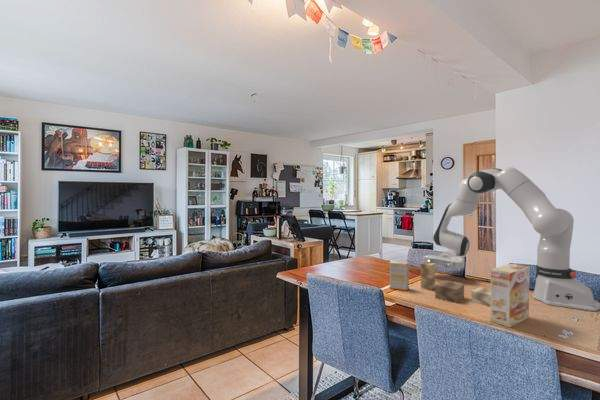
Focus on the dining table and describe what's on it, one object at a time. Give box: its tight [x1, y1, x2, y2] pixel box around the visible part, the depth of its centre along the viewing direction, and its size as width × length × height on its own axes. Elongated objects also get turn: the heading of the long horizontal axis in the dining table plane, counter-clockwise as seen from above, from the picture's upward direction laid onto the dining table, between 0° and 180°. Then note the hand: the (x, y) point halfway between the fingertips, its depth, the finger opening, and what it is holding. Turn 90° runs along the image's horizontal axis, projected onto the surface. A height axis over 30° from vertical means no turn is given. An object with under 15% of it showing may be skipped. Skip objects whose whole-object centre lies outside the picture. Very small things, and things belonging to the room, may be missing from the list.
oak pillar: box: [420, 262, 436, 291], centre depth 160 cm, size 5×5×12 cm
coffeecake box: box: [489, 263, 530, 328], centre depth 121 cm, size 15×7×20 cm, turn 123°
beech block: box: [470, 286, 491, 308], centre depth 139 cm, size 8×8×5 cm
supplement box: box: [389, 260, 410, 292], centre depth 160 cm, size 8×5×13 cm, turn 58°
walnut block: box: [434, 280, 465, 304], centre depth 145 cm, size 9×9×6 cm
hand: (437, 264), depth 168 cm, fingers open, 8 cm apart
